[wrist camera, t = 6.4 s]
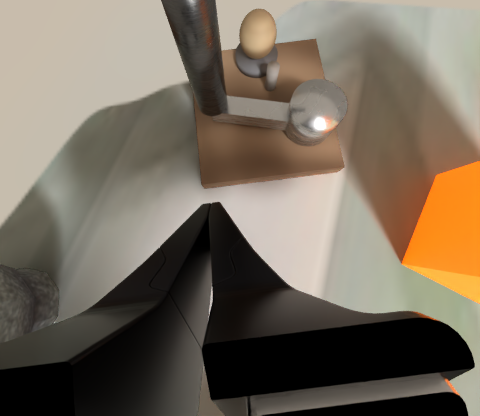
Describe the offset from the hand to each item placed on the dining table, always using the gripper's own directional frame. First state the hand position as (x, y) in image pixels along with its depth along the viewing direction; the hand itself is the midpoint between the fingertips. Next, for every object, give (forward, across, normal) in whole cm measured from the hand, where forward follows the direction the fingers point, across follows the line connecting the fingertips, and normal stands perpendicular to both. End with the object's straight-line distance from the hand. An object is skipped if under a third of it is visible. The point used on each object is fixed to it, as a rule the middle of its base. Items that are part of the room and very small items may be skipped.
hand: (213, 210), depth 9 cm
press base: (+12, -4, -2) cm, 13 cm away
